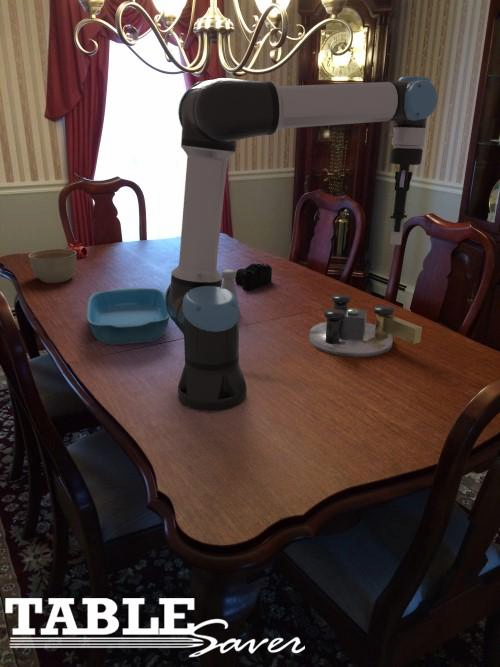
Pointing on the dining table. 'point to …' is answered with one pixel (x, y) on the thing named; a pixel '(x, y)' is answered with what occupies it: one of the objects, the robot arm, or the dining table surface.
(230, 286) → the salt shaker
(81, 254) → the pomegranate
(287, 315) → the dining table surface
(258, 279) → the film camera
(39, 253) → the planter bowl
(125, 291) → the casserole dish
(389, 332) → the brass bar with knob
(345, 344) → the levelling base
